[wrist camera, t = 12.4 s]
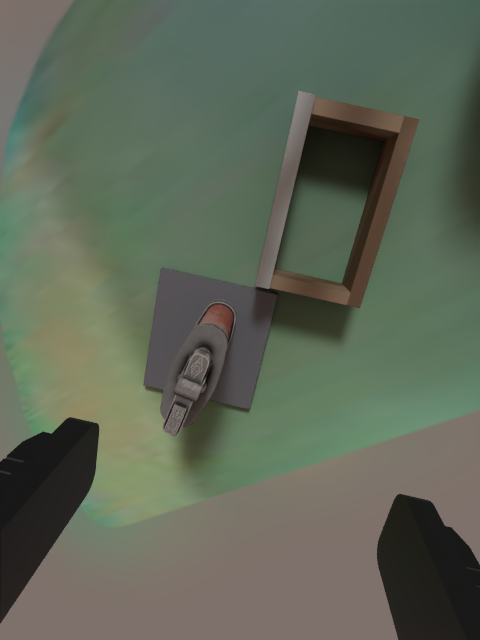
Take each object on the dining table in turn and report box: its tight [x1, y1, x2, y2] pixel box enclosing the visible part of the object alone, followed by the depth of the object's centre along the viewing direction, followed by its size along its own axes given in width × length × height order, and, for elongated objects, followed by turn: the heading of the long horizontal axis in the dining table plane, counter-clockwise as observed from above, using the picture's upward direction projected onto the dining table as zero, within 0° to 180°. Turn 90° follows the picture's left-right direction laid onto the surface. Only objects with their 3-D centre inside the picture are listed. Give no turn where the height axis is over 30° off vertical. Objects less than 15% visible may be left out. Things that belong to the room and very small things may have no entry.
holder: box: [255, 91, 419, 308], centre depth 28 cm, size 8×13×4 cm, turn 168°
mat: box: [144, 268, 278, 409], centre depth 33 cm, size 10×11×1 cm
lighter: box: [160, 300, 236, 436], centre depth 28 cm, size 8×3×10 cm, turn 157°
